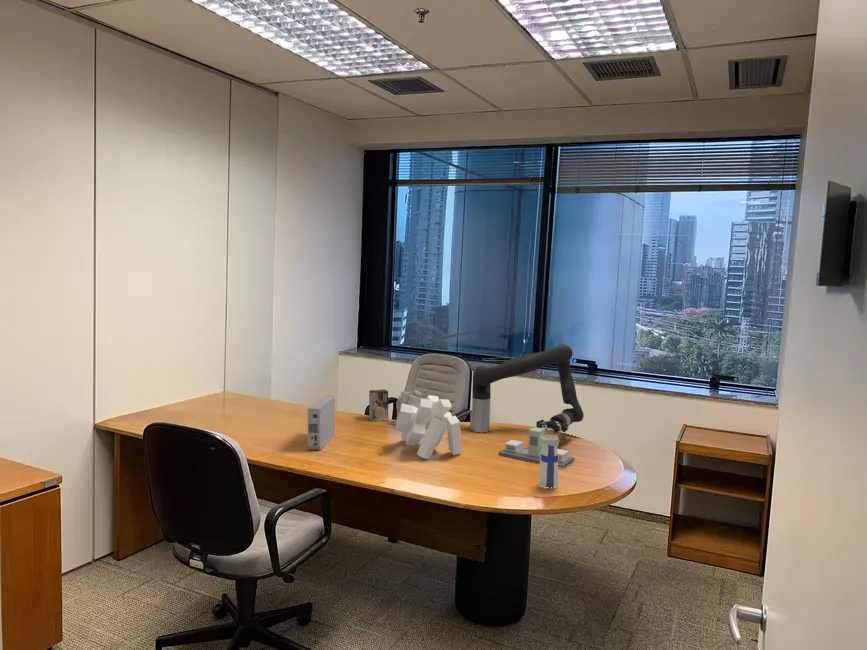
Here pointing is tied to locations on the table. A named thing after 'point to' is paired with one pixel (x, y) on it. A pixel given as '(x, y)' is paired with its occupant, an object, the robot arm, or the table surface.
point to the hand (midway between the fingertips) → (546, 429)
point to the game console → (321, 422)
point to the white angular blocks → (429, 425)
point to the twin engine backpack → (409, 399)
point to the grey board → (531, 458)
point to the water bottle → (549, 461)
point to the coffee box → (378, 405)
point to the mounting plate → (525, 452)
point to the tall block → (535, 441)
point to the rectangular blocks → (518, 445)
